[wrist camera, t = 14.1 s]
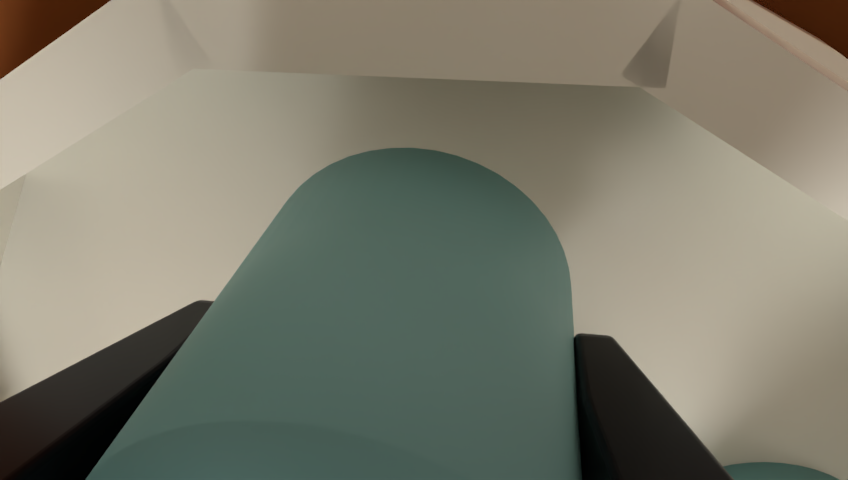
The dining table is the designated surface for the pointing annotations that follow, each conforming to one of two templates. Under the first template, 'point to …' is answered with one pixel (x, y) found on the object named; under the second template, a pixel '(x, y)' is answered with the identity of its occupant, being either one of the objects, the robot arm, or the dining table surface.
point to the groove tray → (473, 140)
